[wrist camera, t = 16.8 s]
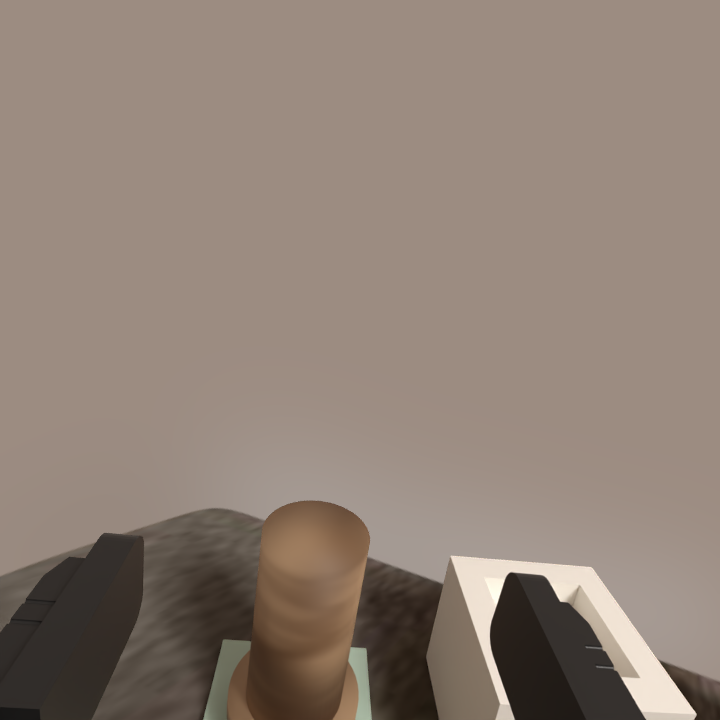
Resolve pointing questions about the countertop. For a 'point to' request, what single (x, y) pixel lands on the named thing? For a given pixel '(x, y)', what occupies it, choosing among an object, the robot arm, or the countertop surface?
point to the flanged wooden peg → (303, 617)
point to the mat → (237, 649)
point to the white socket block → (473, 650)
